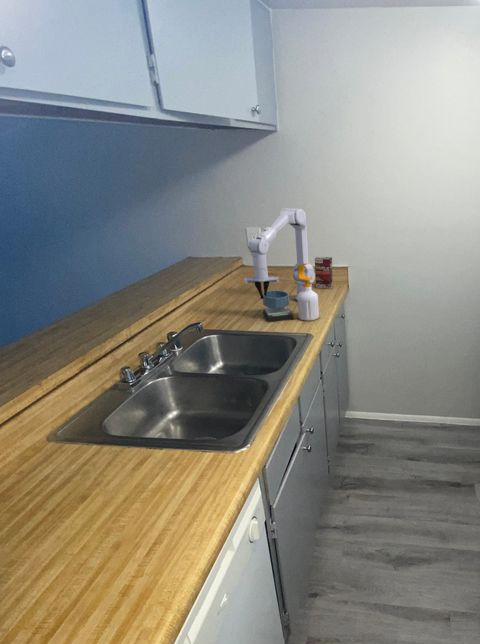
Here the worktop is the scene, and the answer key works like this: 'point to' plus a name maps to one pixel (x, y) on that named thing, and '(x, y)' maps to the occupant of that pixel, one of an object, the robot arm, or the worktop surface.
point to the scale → (277, 314)
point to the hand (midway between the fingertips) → (263, 298)
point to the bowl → (276, 299)
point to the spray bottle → (307, 298)
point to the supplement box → (323, 272)
